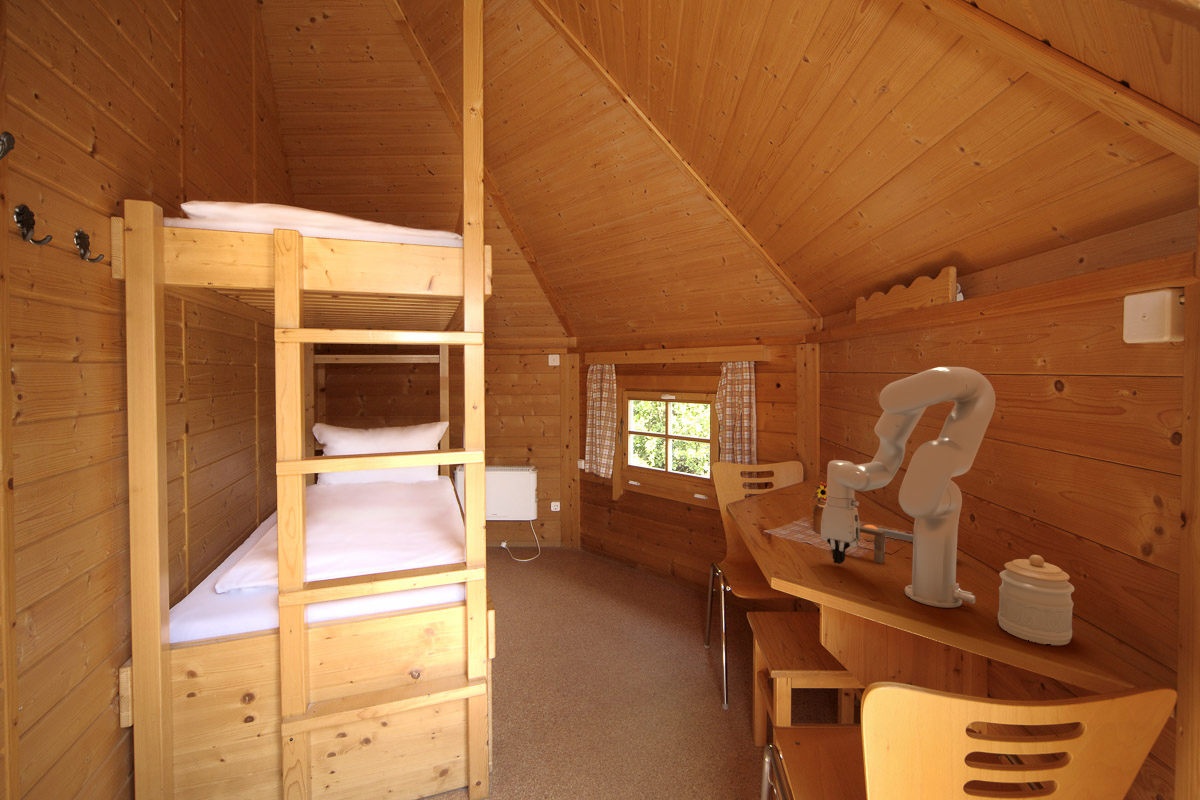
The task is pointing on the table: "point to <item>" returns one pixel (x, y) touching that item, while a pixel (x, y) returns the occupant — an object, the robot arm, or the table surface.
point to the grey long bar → (897, 534)
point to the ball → (867, 536)
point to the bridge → (876, 543)
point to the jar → (1036, 601)
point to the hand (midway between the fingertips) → (838, 562)
